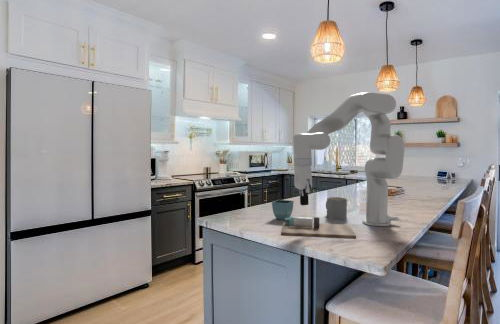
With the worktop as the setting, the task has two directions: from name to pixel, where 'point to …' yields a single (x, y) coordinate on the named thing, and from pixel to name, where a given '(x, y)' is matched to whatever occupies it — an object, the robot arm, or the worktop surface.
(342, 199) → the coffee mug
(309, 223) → the swing bar
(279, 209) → the flower pot
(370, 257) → the worktop surface
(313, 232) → the walnut board
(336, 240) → the worktop surface
